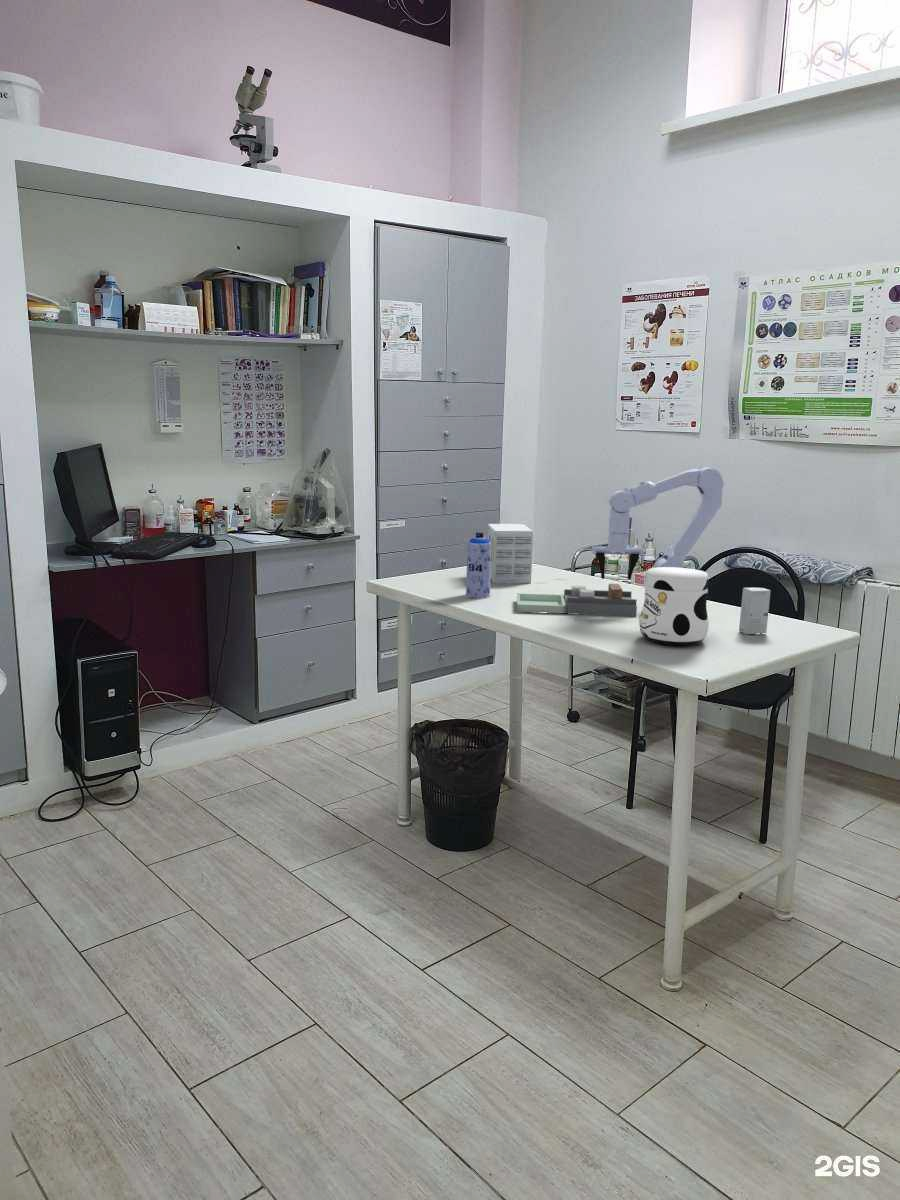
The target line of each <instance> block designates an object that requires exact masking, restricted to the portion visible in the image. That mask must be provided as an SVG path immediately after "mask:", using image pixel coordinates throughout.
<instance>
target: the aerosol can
mask: <svg viewBox="0 0 900 1200" xmlns="http://www.w3.org/2000/svg"><path fill="white" fill-rule="evenodd" d="M466 547H467V548H466V578H465V579H466V580H465V582H466V585H465V595H466V596H467V598H469V597H472V598H471V599H487V598H486V597H489V598H491V578H490V575H491V542H489V540H488V537H486V536H484V532H475V536H473V537H471V538H470V539H469V541H467V546H466ZM466 596H465V597H466Z"/></svg>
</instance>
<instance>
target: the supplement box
mask: <svg viewBox="0 0 900 1200" xmlns="http://www.w3.org/2000/svg"><path fill="white" fill-rule="evenodd" d="M487 539H488V540H489V542H491V575H490V581H491V582H492V583H493V584H531V583H532V573H533V572H532V571H533V569H532V567H533V548H534V547H533V546H534V545H533V544H534V530H533V529H531V528H530V527H528V526H527V525H526V524H524V523H488V524H487Z"/></svg>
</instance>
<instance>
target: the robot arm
mask: <svg viewBox="0 0 900 1200" xmlns="http://www.w3.org/2000/svg"><path fill="white" fill-rule="evenodd" d="M724 485H725V483H724V480H723V476H722V474H721V473H720V471H719V470H717V469H716V468H711V467H710V466H706V465H705V466H703V465H702V466H700V467H698V468H692V469H688V470H685V471H682V472H679V473H677V474H675V475H672V476H670V477H667V478H665V479H662V480H660V481H657V482H655V483H654V482H652V481H650V480H647V481H646V482H645V480H640V481H639V484H636V485H634V486H630V487H627V486H626V487H624V488H623V490H617V491H615V492H613V493H612V494H611V496H610V497H609V499H608V504H609V506H610V507H611V508H610V510H609V515H610V516H609V519H608V538H607V539H608V541H607V543H608V544H607V546H606V545H605V546H592V547H591V548H592V549H591V550H592V551H591V553H592V554H593V555H595V557H596V559H597V563H598V565H599V569H600V576H601V577H600V578H601V579H602V580H604V579H605V575H606V574H605V566H606V555H627V556H628V570H627V580H628V581H629V580H630V581H631V580H632V575H633V572H634V570H635V567H636V565H637V564H638V561H639V560H640V556H643V555H644V548H643V547H634V546H633V547H629V533H630V531H629V530H630V510H631V509H632V507H633V508H636V507H638V506H641V505H643V504H647V503H649V502H653V501H654V500H656V498H657V496H658V495H660V494H662V493H664V492H668V491H671V490H675V489H677V488H681V487H683V486H684V487H685V486H689V487H695V488H697V490H698V492H699V495H700V498H701V503H700V505H699V506H698V508H697V509H696V510H695V512H694V514H693V515H692V516H691V517H690V519H689V521H688V523H687V524H686V526H685V527H684V528H683V530H682V531H681V532H680V534H679V535H678V537H677V538H676V540H675V541H674V542H673V545H672V546H671V547H670V548H669V549H667V550H666V551H665V553H663V555H662V556H661V557H659V558H657V559H656V560H655V562H654V563H653V567H652V568H656V567H679V568H683V566H684V564H685V561H686V557H687V556H688V555H689V553H690V552H691V550H692V549H693V547H694V546H695V544H696V543H697V541H698V540H699V538H700V537H701V536H702V534H703V532H704V531H705V530H706V528H707V527H708V526H709V524H710V523H711V521H712V520H713V518H714V517H715V515H716V514H717V513H718V511H719V510H720V508H722V503H723V490H724V489H723V488H724Z"/></svg>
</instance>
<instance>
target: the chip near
mask: <svg viewBox="0 0 900 1200" xmlns="http://www.w3.org/2000/svg"><path fill="white" fill-rule="evenodd" d="M594 590H595V589H587V588H586V589H580V591H579V597H583V598H594Z"/></svg>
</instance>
